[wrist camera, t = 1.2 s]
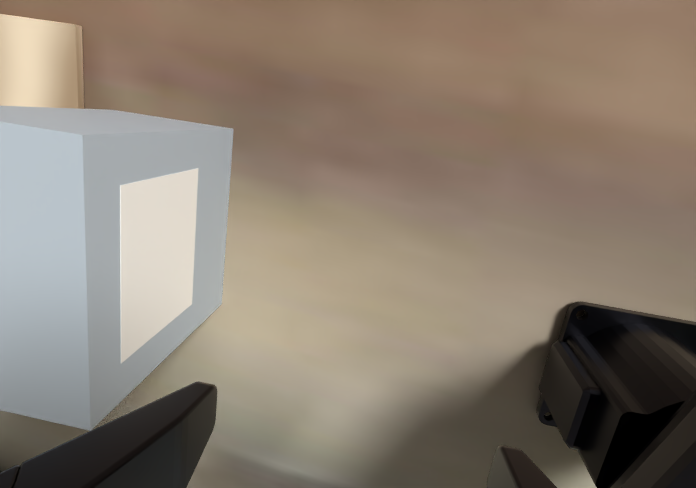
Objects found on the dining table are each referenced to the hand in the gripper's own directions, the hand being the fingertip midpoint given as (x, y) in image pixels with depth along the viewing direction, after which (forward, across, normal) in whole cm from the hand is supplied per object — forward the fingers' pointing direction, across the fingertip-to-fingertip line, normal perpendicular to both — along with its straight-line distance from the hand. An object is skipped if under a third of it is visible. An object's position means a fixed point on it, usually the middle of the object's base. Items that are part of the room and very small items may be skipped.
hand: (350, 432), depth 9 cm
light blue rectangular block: (+13, +11, 0) cm, 17 cm away
